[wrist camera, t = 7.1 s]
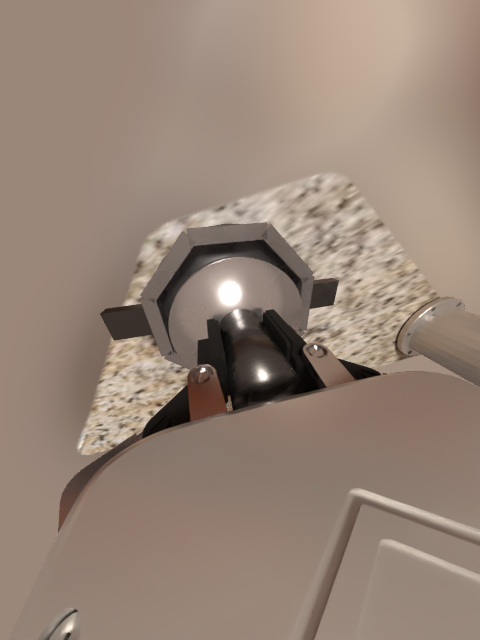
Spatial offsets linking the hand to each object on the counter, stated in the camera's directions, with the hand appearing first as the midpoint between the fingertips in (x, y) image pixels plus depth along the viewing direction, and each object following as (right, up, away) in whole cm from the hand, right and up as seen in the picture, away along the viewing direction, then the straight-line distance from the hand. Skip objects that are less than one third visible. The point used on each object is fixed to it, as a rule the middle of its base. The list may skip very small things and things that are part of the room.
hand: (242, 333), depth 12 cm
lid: (0, +1, +1) cm, 2 cm away
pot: (-2, +5, +9) cm, 11 cm away
